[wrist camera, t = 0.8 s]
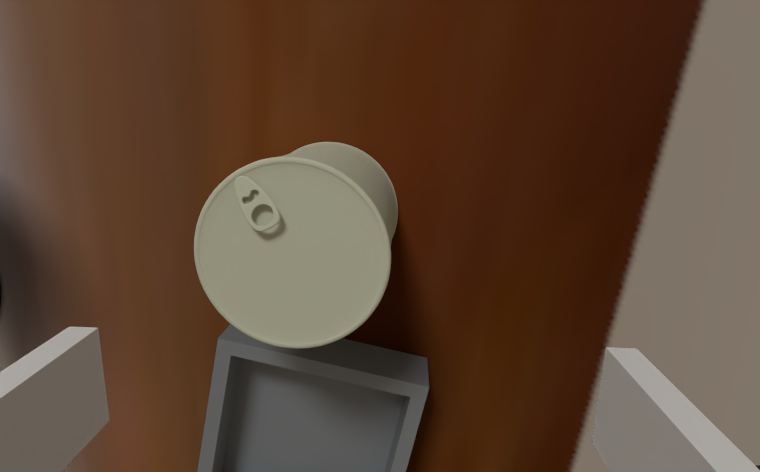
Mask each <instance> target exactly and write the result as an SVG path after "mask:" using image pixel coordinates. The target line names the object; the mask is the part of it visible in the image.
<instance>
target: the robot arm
mask: <svg viewBox="0 0 760 472" xmlns="http://www.w3.org/2000/svg"><path fill="white" fill-rule="evenodd" d="M0 305H1V286H0ZM108 421H109V413H108V405H107V397H106V388H105V380H104V372H103V364H102V356H101V347H100V339H99V331H98V328H92V327H68V328H66V329H65V330H63V331H62V332H60V333H59V334H57V335H56V336H54V337H53V338H51V339H50V340H48V341H47V342H45V343H44V344H42V345H40V346H39V347H37V348H36V349H34V350H33V351H31V352H30V353H28V354H27V355H25V356H24V357H22V358H21V359H19V360H18V361H16V362H15V363H13V364H12V365H10V366H8V367H7V368H5V369H4V370H2V371H1V372H0V472H62V471H63V470H64V469H65V468H66V467H67V465H68V464H69V463H70V462H71V461H72V460H73V459H74V458H75V457H76V456H77V455H78V454H79V453H80V452H81V450H82V449H83V448H84V447H85V446H86V445H87V444H88V443H89V442H90V441H91V440H92V439H93V438H94V437H95V435H96V434H97V433H98V432H99V431H100V430H101V429H102V428H103V427H104V426H105V425H106V424H107V423H108ZM592 443H593V444H594V446H595V448H596V449H597V451H598V453H599V454H600V456H601V458H602V459H603V461H604V463H605V464H606V466H607V468H608V470H609V471H610V472H760V466H755V465H754V464H753V463H752V462H751V461H750V460H749V459H748V458H747V457H746V456H744V454H743V453H742V452H741V451H740V450H739V449H738V448H737V447H736V446H735V445H734V444H733V443H732V442H731V441H730V440H729V439H727V437H726V436H725V435H724V434H723V433H722V432H720V430H718V428H716V427H715V426H714V425H713V424H712V423H711V422H710V421H709V420H708V419H707V418H706V417H705V416H704V415H703V414H702V413H701V412H700V411H699V410H698V409H697V408H696V407H695V406H694V405H693V404H692V403H691V402H690V401H689V400H688V399H687V398H686V397H685V396H684V395H683V394H682V393H681V392H680V391H679V390H678V389H677V388H676V387H675V386H674V385H673V384H672V383H671V382H670V381H669V380H668V379H667V378H666V377H665V376H664V375H663V374H662V373H661V372H660V371H659V370H658V369H657V368H656V367H655V366H654V365H653V364H652V363H651V362H650V361H649V360H647V359H646V357H645V356H643V355H642V354H641V353H640V352H639V351H638V350H637V349H634V348H632V349H631V348H608V347H606V351H605V358H604V364H603V371H602V378H601V385H600V391H599V398H598V404H597V411H596V418H595V424H594V431H593V438H592Z"/></svg>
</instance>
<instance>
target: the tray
mask: <svg viewBox="0 0 760 472" xmlns="http://www.w3.org/2000/svg"><path fill="white" fill-rule="evenodd" d="M428 390H429V375H428V362H427V358H426V357H421V356H417V355H413V354H408V353H404V352H400V351H396V350H391V349H387V348H383V347H378V346H374V345H370V344H366V343H361V342H357V341H353V340H348V339H344V338H341V339H339V340H337V341H335V342H332V343H329V344H326V345H323V346H318V347H312V348H299V349H296V348H283V347H278V346H273V345H270V344H267V343H264V342H261V341H258V340H256V339H254V338H252V337H250V336H248V335H246V334H245V333H243V332H241V331H240V330H238V329H237V328H236V327H234V326H233V325H232V324H230V325H229V326H228V327H227V328H226V330H225V331H224V332H223V333H222V334H221V335H220V337H219V338H218V342H217V349H216V355H215V361H214V368H213V374H212V381H211V387H210V394H209V400H208V406H207V413H206V419H205V426H204V432H203V439H202V445H201V451H200V458H199V464H198V471H197V472H406V469H407V466H408V462H409V459H410V455H411V451H412V448H413V444H414V441H415V437H416V433H417V430H418V426H419V423H420V419H421V416H422V412H423V408H424V405H425V401H426V398H427V394H428Z"/></svg>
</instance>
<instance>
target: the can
mask: <svg viewBox="0 0 760 472" xmlns="http://www.w3.org/2000/svg"><path fill="white" fill-rule="evenodd" d="M397 219H398V203H397V197H396V193H395V190H394V187H393V185H392V182H391V180H390V179H389V177H388V175H387V174H386V172H385V171H384V169H383V168H382V167H381V166H380V165H379V163H378V162H376V161H375V160H374V159H373V158H372V157H371V156H369V155H368V154H366V153H365V152H363V151H361V150H360V149H358V148H355V147H353V146H350V145H347V144H343V143H338V142H318V143H313V144H309V145H306V146H303V147H301V148H299V149H297V150H295V151H293V152H292V153H290V154H288V155H284V156H281V157H273V158H267V159H263V160H259V161H256V162H253V163H251V164H248V165H246V166H244V167H242V168H240V169H238V170H237V171H235V172H234V173H232V174H231V175H229V176H228V177H227V178H226V179H225V180H224V181H222V182H221V183H220V184H219V185H218V186H217V187H216V189H215V190H214V191H213V192H212V194H211V195H210V196H209V198H208V200H207V201H206V203H205V205H204V207H203V209H202V211H201V213H200V216H199V219H198V222H197V226H196V231H195V237H194V256H195V264H196V269H197V273H198V276H199V279H200V282H201V284H202V286H203V289H204V291H205V293H206V295H207V296H208V298H209V299H210V301H211V302H212V304H213V305H214V307H215V308H216V309H217V310H218V312H219V313H220V314H221V315H222V316H223V317H224V318H225V319H226V320H227V321H228V322H229V323H230V324H232V325H233V326H234V327H236V328H237V329H238V330H240V331H241V332H243V333H245V334H246V335H248V336H250V337H252V338H254V339H256V340H258V341H261V342H264V343H267V344H270V345H273V346H278V347H283V348H296V349H299V348H312V347H318V346H323V345H326V344H329V343H332V342H335V341H337V340H339V339H341V338H343V337H345V336H347V335H349V334H350V333H352V332H353V331H354V330H356V329H357V328H358V327H360V326H361V325H362V324H363V323H364V322H365V321H366V320H367V319H368V318H369V317H370V315H371V314H372V313H373V312H374V310H375V309H376V307H377V306H378V304H379V303H380V301H381V299H382V297H383V294H384V292H385V289H386V287H387V284H388V280H389V276H390V269H391V242H392V238H393V235H394V233H395V229H396V225H397Z"/></svg>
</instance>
